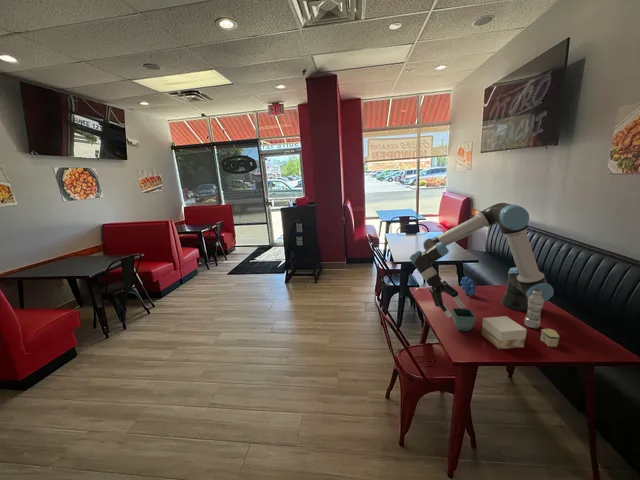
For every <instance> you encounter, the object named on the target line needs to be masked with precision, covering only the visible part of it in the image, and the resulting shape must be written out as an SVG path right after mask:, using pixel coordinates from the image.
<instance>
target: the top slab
mask: <svg viewBox="0 0 640 480" xmlns="http://www.w3.org/2000/svg"><path fill="white" fill-rule="evenodd" d="M481 325H482V326H481V328H482V327H484V328H485V329H486V330H487V331H489V332H490V333H491V334H492V335H494V336H495V337H496V338H497V339H499V340H500V341H503V340H515V339H525V340H526V337H527V332H528V331H527V328H525V327H524V326H522V325H520V324H519V323H518V322H516V321H514V320H513V319H511V318H510V317H509V316H507V315H504V316H502V315H501V316H492V317H483V318H482V324H481Z"/></svg>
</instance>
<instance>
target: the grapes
mask: <svg viewBox="0 0 640 480" xmlns="http://www.w3.org/2000/svg"><path fill="white" fill-rule="evenodd" d="M460 285H461V291H464V294H465V295H467V296H468V295H469V296H470V297H472V296H474V295H475V294H476V290H475V289H476V285H475V284H474V280H473V279H472V278H470V277H468V276H465V277H464V276H463V277H461V281H460Z"/></svg>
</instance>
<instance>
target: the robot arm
mask: <svg viewBox="0 0 640 480" xmlns="http://www.w3.org/2000/svg"><path fill="white" fill-rule="evenodd" d="M529 221H530V214H529V212H528V210H527V209H526V208H524V207H522V206H520V205H517V204H511V203H506V202H499V203H495V204H493V205H491V206H489V207H487V208H485V209H483V210H481V211H479V212H478V214H477V215H475V216H474V217H471V218H470V219H467V220H466V221H463V222H462V223H460V224H458V225H455V226H454V227H452V228H450V229H449V230H446V231H444V232H443V233H440V234H438V235H437V236H434V237H432V238H426V239H425V240H424V242H423V249H424V251H421V250H418V251H416V252H414V253H412V254H411V255H410V256H409V260H410V262H411V263H412V264H413V266H414V267H415V269H416V270H417V271H418V272H419V274H420V275H421V277H422V278H423V280H425V283H426V285H428V286H429V289H428V291H429V292H430V294H431V296H432V297H431V298H432V300H433V302H434V306H435V307H437V308H440V309H441V311H442V312H443V313H444V315H445V316H446V317H447V318H448V319H449V318H451V317H453V315H452V311H450V309H449V308H448V306H447V305H446V303H444V300H443V296H442V293H445V294H447V295H449V296H450V297H452V300H454V302H455V303H456V305H457V306H458V307H459V309H465V308H466V305H465V304H464V302H463V301H462V300H461V299H460V297H459V292H458V291H457V290H456V289H455V288H453V287H452V285H450V284H448V282H447V281H446V280H443V281H441V280H442V277H441V276H440V275H439V274H438V273H437V271H436V269H435V268H434V267H433V266H432V264H433V263H435V262H436V261H439V260H440V259H441V258H443V257H445V256H446V255H447V254H449V252H450V251H449V248H448V247H447V246H449V245H451V244H453V243H455V242H458V241H459V240H461V239H463V238H465V237H467V236H470V235H471V234H473V233H475V232H477V231H479V230H482V229H484V228H490V227H492V226H495V225H498V228H499V231H500V233H501V235H504V236H505V238H506V239H507V243H508V247H509V248H510V249H509V250H510V253H511V254H512V258H513V260H514V264H515V265H516V266H513V267H510V268H509V271H508V272H507V274H508V275H507V280H506V283H507V284H506V290H505V292H504V294H503V296H502V298H501V303H500V304H501V305H502V306H503V307H506V308H508V309H511V310H514V311H519V312H527V310H528V297H529V296H530V295H532V291H533V289H539V290H541V291H542V295H541V296H542V298H543V300H544V303H546V302H547V301H549V300H550V299H551V297H553V296H554V292H555V291H554V287H553V286H552V285H551V284H549V283H548V282H547V278H546V277H545V274H544V273H543V272H541V271H540V270H539V267H538V264H537V262H536V258H535V255H534V252H533V249H532V247H531V242H530V239H529V237H528V235H527V231H526V230H528V228H529V225H528V223H529Z"/></svg>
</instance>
